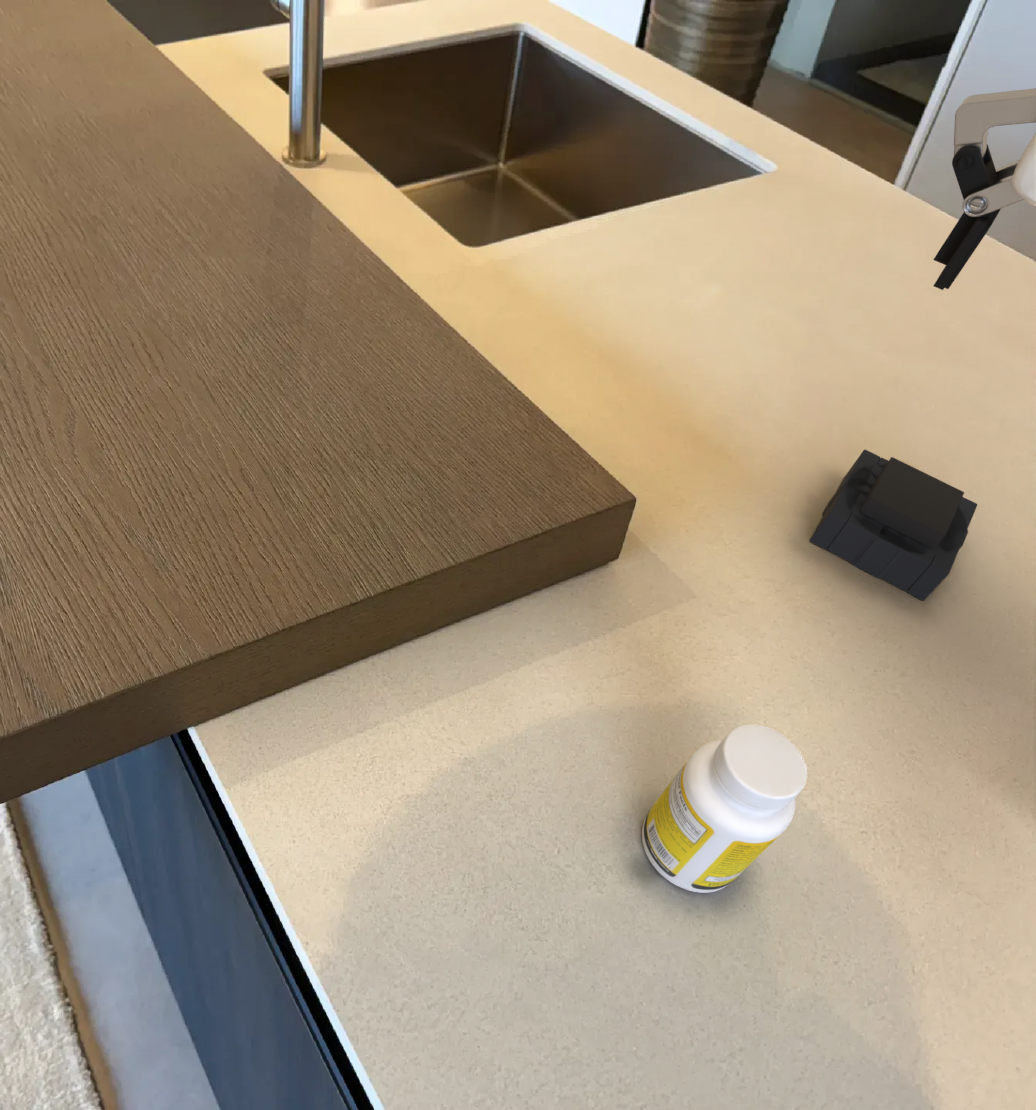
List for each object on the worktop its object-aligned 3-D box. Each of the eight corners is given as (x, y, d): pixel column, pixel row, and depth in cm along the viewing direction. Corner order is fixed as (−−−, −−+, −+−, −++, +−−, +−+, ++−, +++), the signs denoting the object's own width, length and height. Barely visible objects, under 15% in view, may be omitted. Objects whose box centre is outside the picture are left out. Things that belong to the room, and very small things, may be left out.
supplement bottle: (749, 833, 58) (835, 746, 50) (722, 914, 55) (810, 836, 47) (656, 783, 59) (727, 692, 52) (624, 860, 56) (695, 775, 49)
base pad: (954, 532, 74) (980, 503, 72) (924, 603, 70) (950, 575, 67) (842, 476, 77) (863, 447, 74) (806, 541, 72) (827, 512, 70)
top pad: (927, 535, 74) (964, 492, 70) (907, 577, 71) (945, 535, 68) (858, 500, 75) (891, 456, 72) (836, 540, 73) (870, 497, 69)
